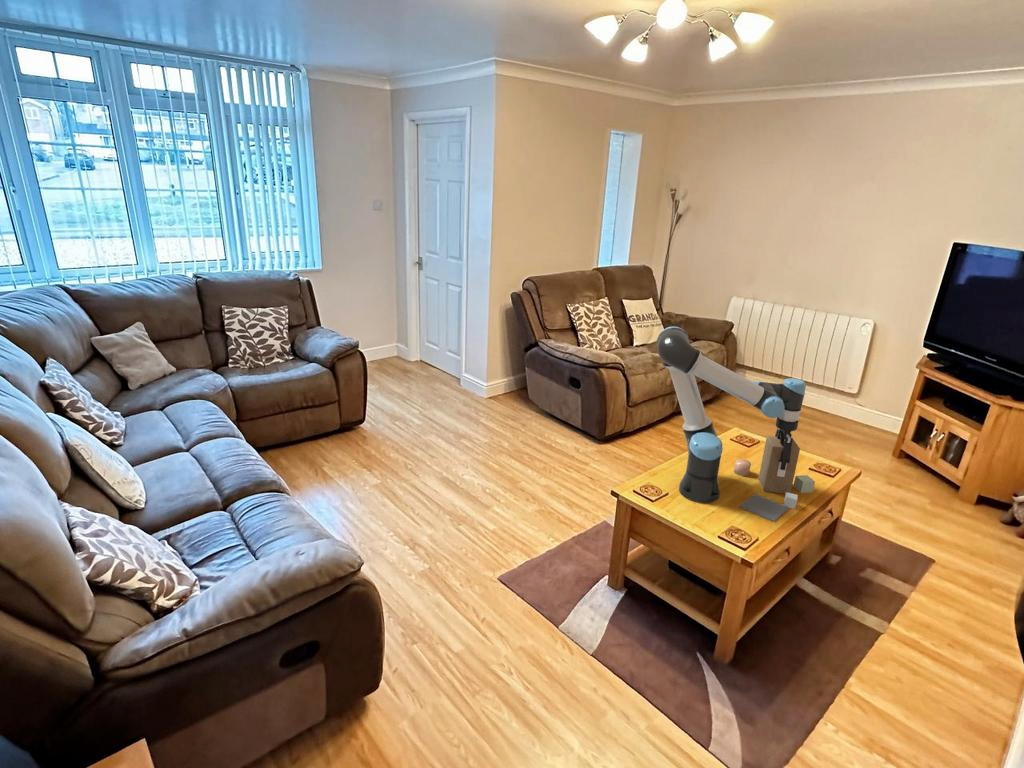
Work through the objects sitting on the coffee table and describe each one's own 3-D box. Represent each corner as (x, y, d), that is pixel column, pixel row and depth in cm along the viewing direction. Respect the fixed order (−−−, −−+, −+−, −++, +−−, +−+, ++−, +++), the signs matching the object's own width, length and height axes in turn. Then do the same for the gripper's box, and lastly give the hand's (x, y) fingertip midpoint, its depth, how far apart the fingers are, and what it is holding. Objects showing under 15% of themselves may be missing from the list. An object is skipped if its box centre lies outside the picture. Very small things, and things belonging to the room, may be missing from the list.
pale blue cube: (783, 506, 205) (785, 496, 204) (784, 501, 208) (786, 492, 207) (795, 509, 203) (797, 499, 202) (795, 504, 207) (797, 494, 205)
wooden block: (790, 494, 213) (800, 448, 206) (763, 491, 215) (772, 446, 208) (783, 482, 222) (793, 437, 215) (757, 479, 224) (766, 435, 217)
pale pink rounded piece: (734, 475, 227) (736, 464, 225) (732, 468, 232) (734, 458, 231) (750, 477, 226) (752, 466, 224) (747, 470, 231) (749, 460, 230)
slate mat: (773, 522, 195) (773, 520, 195) (738, 506, 204) (739, 505, 204) (788, 509, 203) (789, 507, 203) (755, 495, 212) (755, 493, 212)
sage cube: (800, 493, 214) (803, 481, 213) (793, 486, 219) (795, 475, 217) (812, 492, 215) (815, 481, 213) (804, 486, 220) (807, 475, 218)
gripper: (806, 431, 197) (794, 484, 205) (791, 408, 218) (781, 458, 225) (784, 428, 199) (773, 482, 206) (771, 406, 220) (761, 455, 227)
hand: (777, 469), depth 216 cm, fingers closed on wooden block, 10 cm apart
